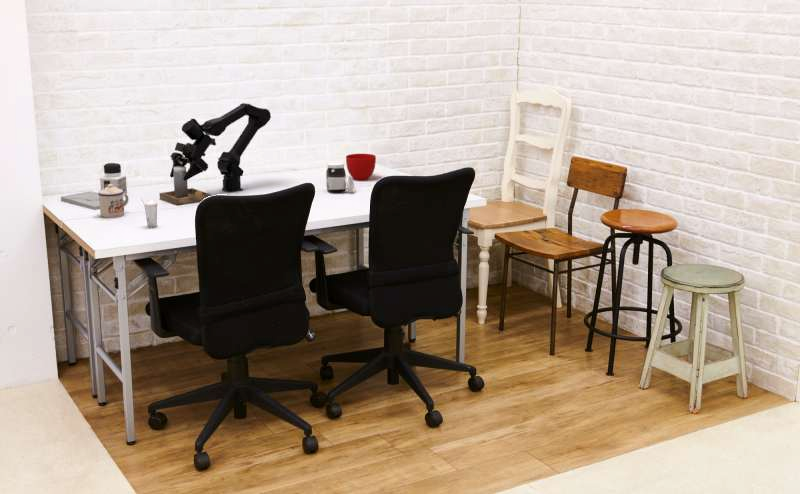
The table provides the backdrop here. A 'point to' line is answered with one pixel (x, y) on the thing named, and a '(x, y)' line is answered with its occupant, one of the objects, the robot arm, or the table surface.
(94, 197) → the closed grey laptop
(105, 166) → the container
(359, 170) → the ceramic cup
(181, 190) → the cylinder
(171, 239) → the table surface
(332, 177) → the spread jar
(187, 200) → the tray
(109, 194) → the teacup with lid
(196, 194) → the ball
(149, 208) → the milkshake
